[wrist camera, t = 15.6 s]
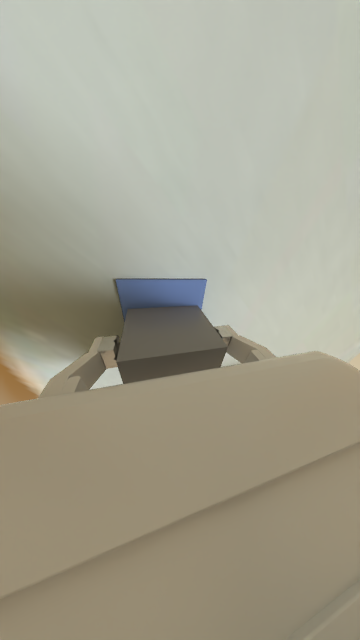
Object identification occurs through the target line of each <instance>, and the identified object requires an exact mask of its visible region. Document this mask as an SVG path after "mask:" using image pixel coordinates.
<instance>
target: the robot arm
mask: <svg viewBox="0 0 360 640" xmlns="http://www.w3.org/2000/svg"><path fill="white" fill-rule="evenodd" d="M214 328H215V330H216V331H217V333H218V334H219V335H220V337H221V338H222V339H223V341H224V342H225V343H226V345H227V346H228V348H227V351H226V352H227V353H228V354H229V355H231V356H232V357H234V358H235V359H236V360H238V361H239V362H240V363H242V364H237V365H231V366H225V367H219V368H213V369H208V370H202V371H196V372H190V373H184V374H179V375H173V376H167V377H161V378H155V379H149V380H144V381H138V382H132V383H126V384H120V385H115V386H109V387H103V388H97V389H91V390H89V389H90V388H91V387H92V385H93V384H94V383H95V382H96V381H97V380H98V378H99V377H100V376H101V375H102V374H103V373H104V371H105V370H106V369H108V368H114V367H118V366H117V363H116V361H117V356H118V351H119V347H120V343H119V337H118V335H116V336H104V337H96V338H95V339H94V341H93V343H92V346H91V348H90V350H89V352H88V353H85V354H84V355H83V356H81V357H80V358H79V359H77V360H76V361H74V362H73V363H72V364H70V365H69V366H68V367H66V368H65V369H64V370H62V371H61V372H59V373H58V374H57V375H55V376H54V377H53V378H51V379H50V380H49V382H48V383H47V385H46V387H45V388H44V390H43V391H42V393H41V394H40V396H39V397H38V399H33V400H28V401H22V402H16V403H10V404H5V405H0V640H360V371H359V370H358V369H357V368H355V367H353V366H352V365H350V364H348V363H347V362H345V361H342V360H340V359H338V358H335V357H333V356H330V355H328V354H325V353H322V352H318V351H312V352H306V353H301V354H295V355H289V356H283V357H275V356H274V355H273V354H272V353H271V352H270V351H269V350H268V349H267V348H266V347H263V346H261V345H259V344H257V343H255V342H253V341H251V340H248V339H246V338H244V337H242V336H238V335H237V333H236V332H235V331H234V330H233V329H232V328H231V327H230V326H229V325H224V326H216V327H214Z"/></svg>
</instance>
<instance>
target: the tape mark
mask: <svg viewBox="0 0 360 640" xmlns="http://www.w3.org/2000/svg"><path fill="white" fill-rule="evenodd" d="M206 281H207V280H206V279H116V284H117V288H118V293H119V298H120V303H121V307H122V312H123V317H124V322H125V319H126V314H127V309H137V308H157V307H177V306H197V305H198V307H199V308H200V309H202V303H203V298H204V292H205V287H206Z"/></svg>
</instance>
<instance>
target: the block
mask: <svg viewBox="0 0 360 640" xmlns="http://www.w3.org/2000/svg"><path fill="white" fill-rule="evenodd" d="M227 348H228V346H227V345H226V343H225V342H224V341H223V339H222V338H221V337H220V335H219V334H218V333H217V331H216V330H215V328H214V327H213V326H212V324H211V323H210V322H209V320H208V319H207V317H206V316H205V315H204V313H203V312H202V311H201V309H200V308H199V307H198V305H197V306H177V307H157V308H137V309H127V314H126V319H125V323H124V328H123V333H122V337H121V342H120V347H119V351H118V356H117V361H116V363H117V366H118V369H119V372H120V375H121V378H122V381H123V384H126V383H132V382H138V381H144V380H149V379H155V378H161V377H167V376H173V375H179V374H184V373H190V372H196V371H202V370H208V369H213V368H219V367H220V366H221V364H222V361H223V359H224V356H225V353H226V351H227Z"/></svg>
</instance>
